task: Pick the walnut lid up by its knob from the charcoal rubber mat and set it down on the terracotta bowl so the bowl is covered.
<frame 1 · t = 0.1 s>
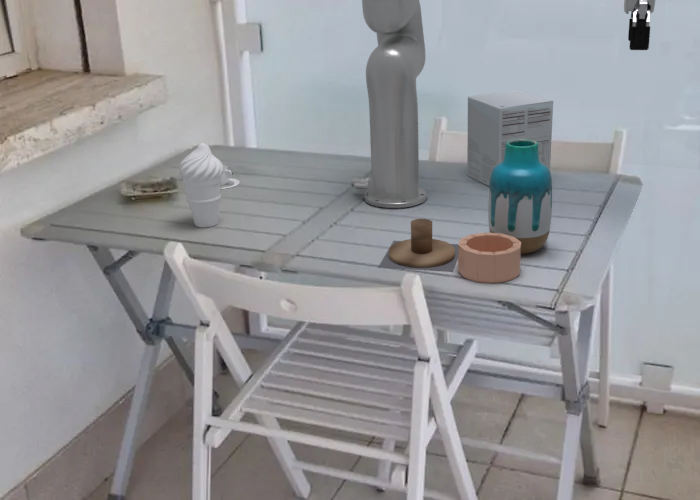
hand: (637, 45, 169), 31 cm above the table, fingers open, 9 cm apart
mat: (421, 258, 161), on the table
teacup and saucer: (221, 182, 209), on the table
lid: (421, 255, 160), point 1 cm above the table, touching mat
vase: (518, 251, 163), on the table
soft serve ice cream cone: (206, 224, 181), on the table
supplement box: (507, 180, 201), on the table
bowl: (489, 274, 153), on the table
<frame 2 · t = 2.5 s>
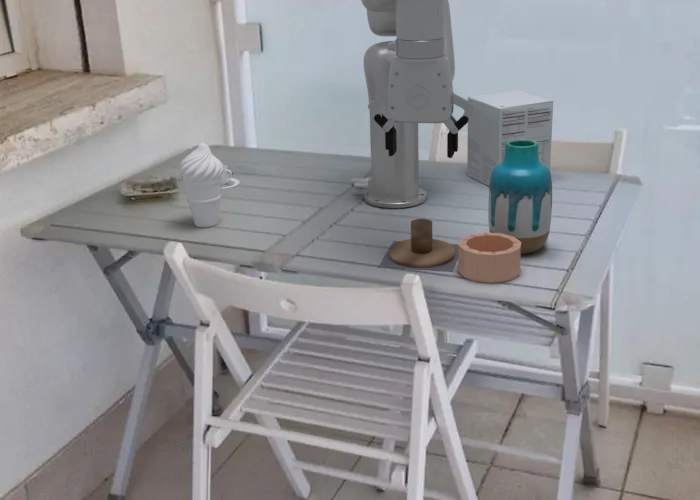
hand: (421, 154, 154), 18 cm above the table, fingers open, 9 cm apart
nothing on the table moved.
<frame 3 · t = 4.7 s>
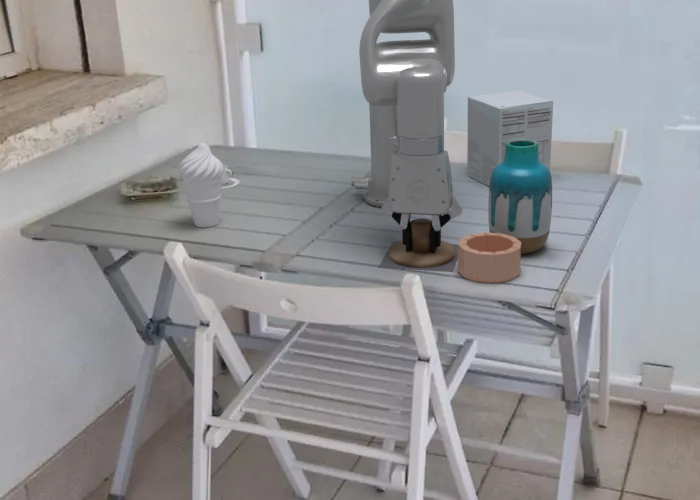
hand: (421, 248, 160), 2 cm above the table, fingers closed on lid, 3 cm apart
lid: (421, 255, 160), point 1 cm above the table, touching gripper, mat
everything else where it was.
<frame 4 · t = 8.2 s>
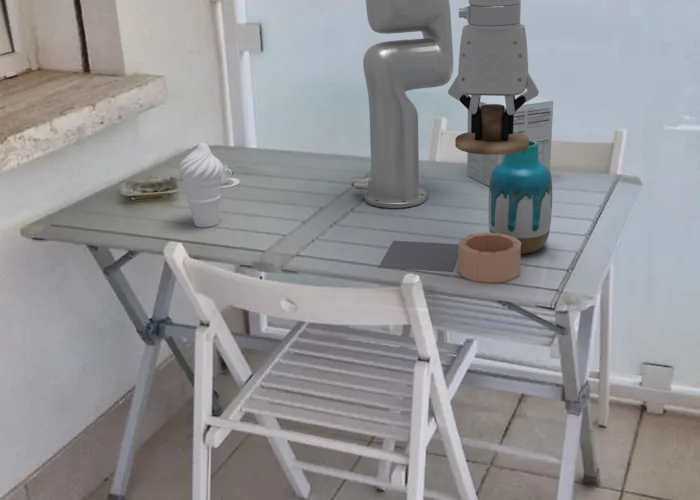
hand: (492, 136, 145), 23 cm above the table, fingers closed on lid, 3 cm apart
lid: (491, 145, 145), point 22 cm above the table, touching gripper
everything else where it was.
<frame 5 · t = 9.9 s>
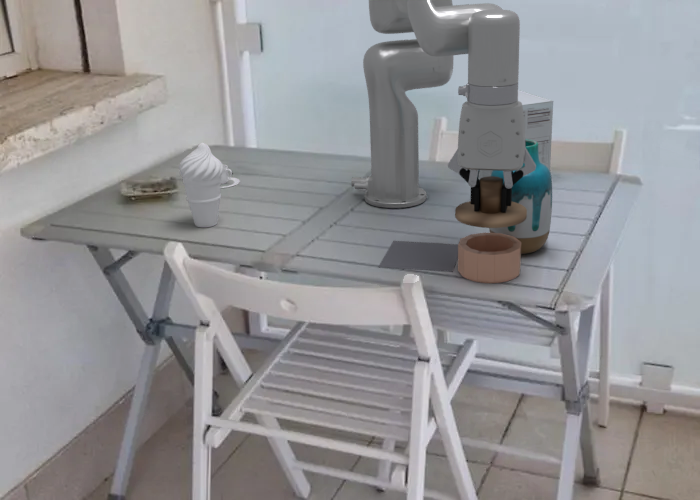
hand: (490, 208, 149), 11 cm above the table, fingers closed on lid, 3 cm apart
lid: (490, 216, 149), point 10 cm above the table, touching gripper
everything else where it was.
when the fingers open (8 cm above the table, at t = 11.5 s): lid stays where it is, resting on bowl.
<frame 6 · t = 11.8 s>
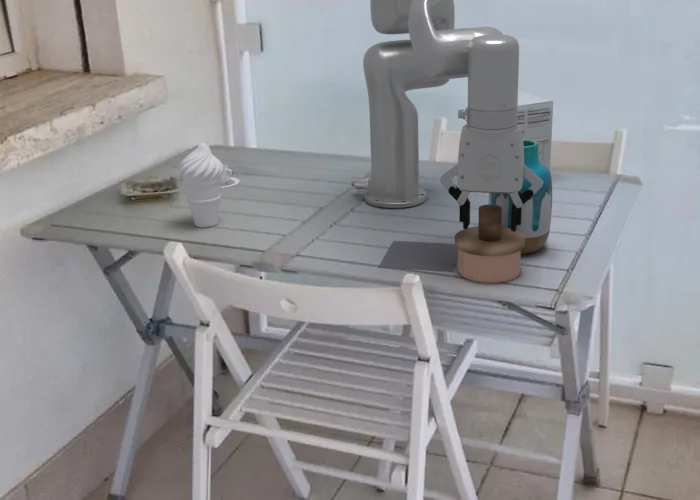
hand: (490, 226, 150), 8 cm above the table, fingers open, 7 cm apart
lid: (489, 243, 151), point 5 cm above the table, touching bowl
everything else where it was.
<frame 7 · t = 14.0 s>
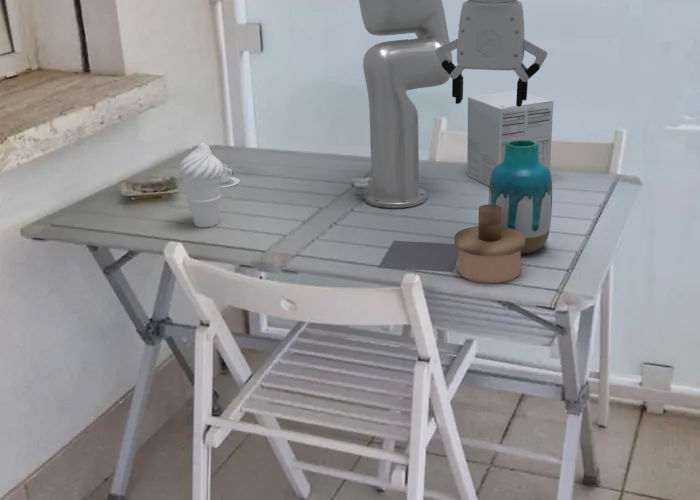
hand: (489, 103, 150), 27 cm above the table, fingers open, 9 cm apart
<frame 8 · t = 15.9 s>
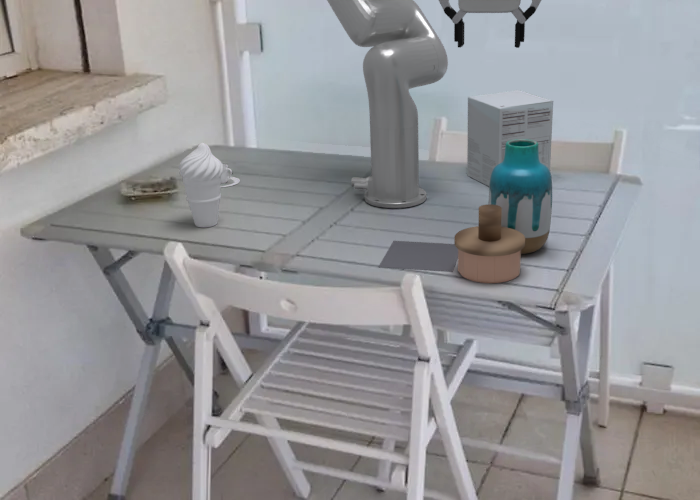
hand: (489, 46, 161), 33 cm above the table, fingers open, 9 cm apart
at the end: lid 0.0 cm off-centre on the bowl, point 5.4 cm above the bowl's base; lid tilted 0°; the gripper is holding nothing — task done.
